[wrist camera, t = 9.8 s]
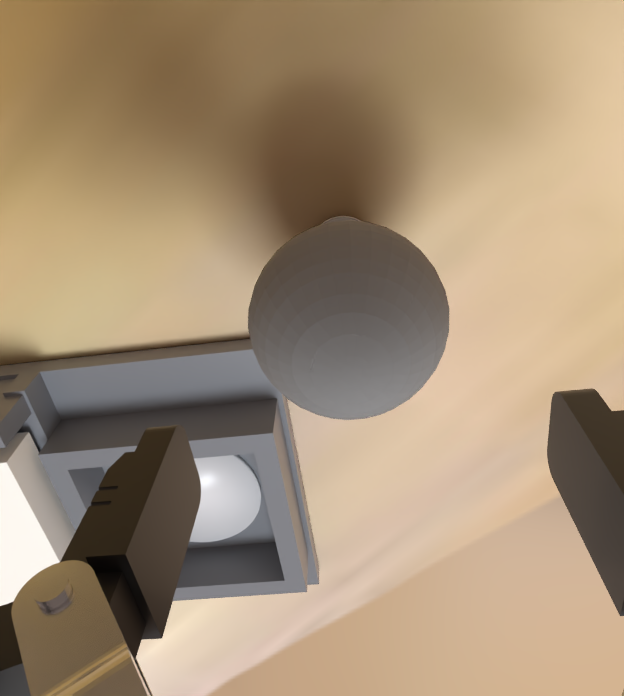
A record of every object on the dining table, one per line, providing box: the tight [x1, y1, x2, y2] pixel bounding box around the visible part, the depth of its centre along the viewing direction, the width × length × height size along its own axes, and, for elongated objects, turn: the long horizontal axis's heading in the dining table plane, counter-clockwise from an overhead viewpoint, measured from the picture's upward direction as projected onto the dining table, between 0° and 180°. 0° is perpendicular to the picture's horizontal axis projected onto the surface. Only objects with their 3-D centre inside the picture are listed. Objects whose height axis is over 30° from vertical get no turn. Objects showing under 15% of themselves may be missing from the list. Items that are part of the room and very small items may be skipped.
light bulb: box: [248, 216, 449, 420], centre depth 19 cm, size 6×6×10 cm
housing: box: [0, 339, 319, 601], centre depth 28 cm, size 16×21×5 cm
